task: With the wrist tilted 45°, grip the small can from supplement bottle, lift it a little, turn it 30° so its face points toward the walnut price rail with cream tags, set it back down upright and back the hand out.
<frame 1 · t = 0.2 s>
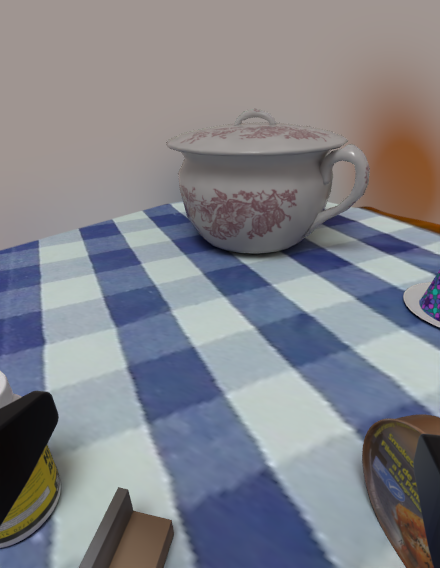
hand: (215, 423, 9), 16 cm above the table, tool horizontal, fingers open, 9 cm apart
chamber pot: (253, 240, 63), on the table
supplement bottle: (19, 505, 23), on the table
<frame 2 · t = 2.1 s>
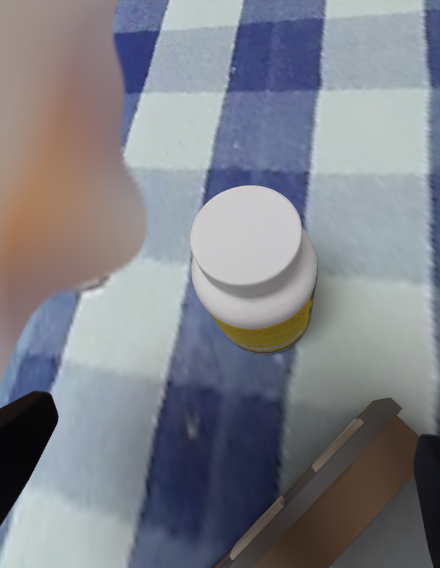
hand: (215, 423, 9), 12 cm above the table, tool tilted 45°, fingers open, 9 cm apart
price rail: (286, 543, 17), on the table
supplement bottle: (265, 311, 22), on the table
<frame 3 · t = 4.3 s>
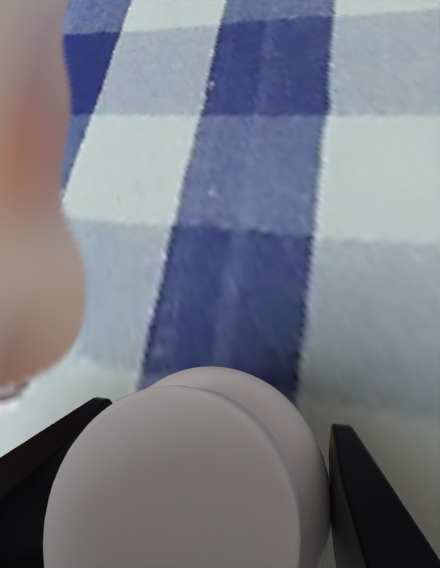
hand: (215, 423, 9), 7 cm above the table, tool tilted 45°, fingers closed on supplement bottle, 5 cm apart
supplement bottle: (246, 456, 14), on the table, touching gripper
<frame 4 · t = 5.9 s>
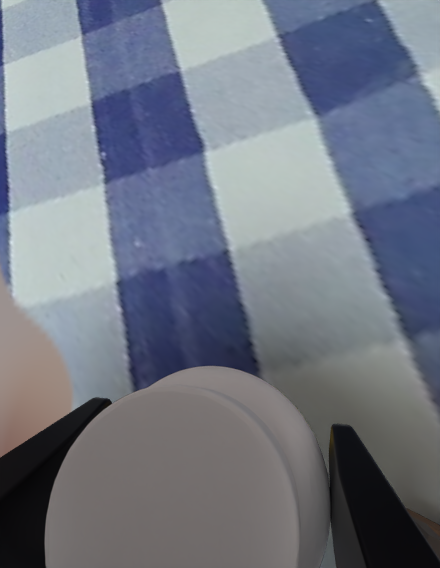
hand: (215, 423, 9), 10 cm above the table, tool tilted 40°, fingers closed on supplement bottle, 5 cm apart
supplement bottle: (246, 456, 14), point 3 cm above the table, touching gripper
when the fingers open (7 cm above the table, at t = 7.4 s): supplement bottle stays where it is, on the table.
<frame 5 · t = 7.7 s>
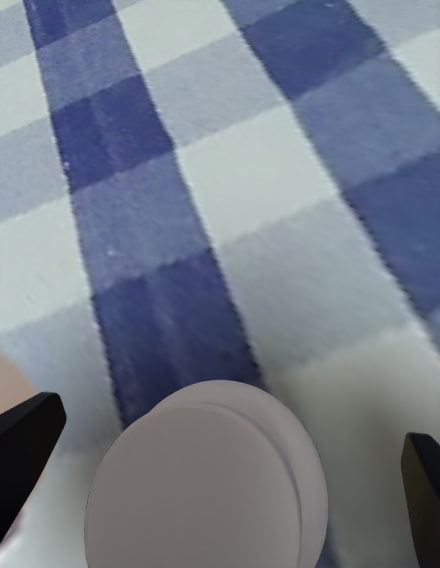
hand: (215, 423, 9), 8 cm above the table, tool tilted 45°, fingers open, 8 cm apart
supplement bottle: (250, 458, 15), on the table
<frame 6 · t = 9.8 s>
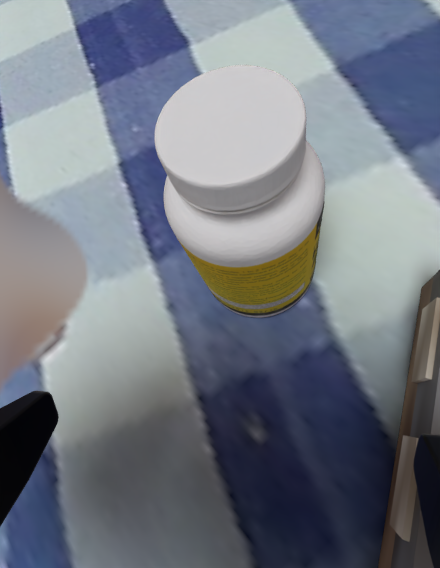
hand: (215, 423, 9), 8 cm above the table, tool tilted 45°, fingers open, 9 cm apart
price rail: (434, 489, 14), on the table
supplement bottle: (260, 269, 18), on the table
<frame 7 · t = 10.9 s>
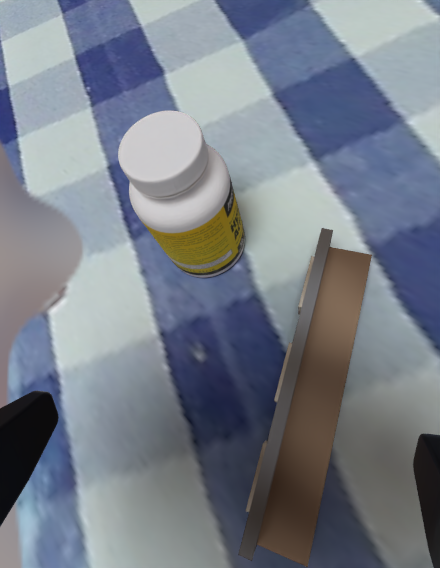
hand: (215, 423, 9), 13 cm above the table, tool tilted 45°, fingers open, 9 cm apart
price rail: (313, 385, 20), on the table
supplement bottle: (208, 244, 25), on the table
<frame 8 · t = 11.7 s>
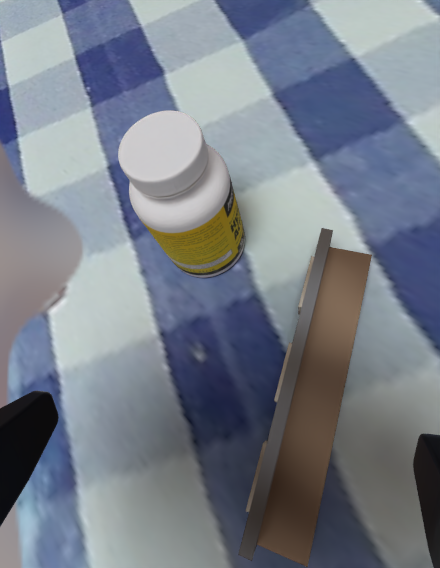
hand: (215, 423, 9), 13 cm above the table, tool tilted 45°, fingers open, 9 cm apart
price rail: (313, 385, 20), on the table
supplement bottle: (208, 244, 25), on the table
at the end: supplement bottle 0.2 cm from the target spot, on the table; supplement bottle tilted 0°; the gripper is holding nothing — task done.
